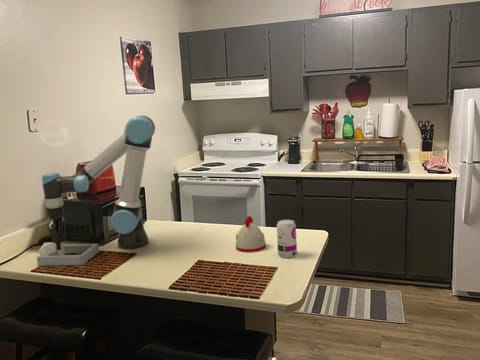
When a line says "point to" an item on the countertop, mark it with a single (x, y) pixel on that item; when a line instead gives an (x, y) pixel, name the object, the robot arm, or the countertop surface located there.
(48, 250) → the die
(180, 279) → the countertop surface
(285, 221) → the supplement can
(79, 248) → the channel
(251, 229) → the kitchen timer
